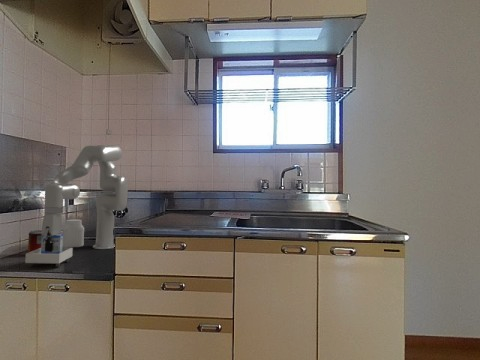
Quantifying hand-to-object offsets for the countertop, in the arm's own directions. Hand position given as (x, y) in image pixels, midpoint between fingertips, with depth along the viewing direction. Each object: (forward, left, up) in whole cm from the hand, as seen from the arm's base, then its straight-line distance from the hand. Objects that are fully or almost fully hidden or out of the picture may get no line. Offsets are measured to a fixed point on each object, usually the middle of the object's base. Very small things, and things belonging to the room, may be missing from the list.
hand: (51, 249), depth 147 cm
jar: (-42, -7, -7) cm, 43 cm away
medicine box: (0, 0, -2) cm, 2 cm away
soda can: (-17, -15, -7) cm, 24 cm away
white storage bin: (+1, 0, -7) cm, 7 cm away
